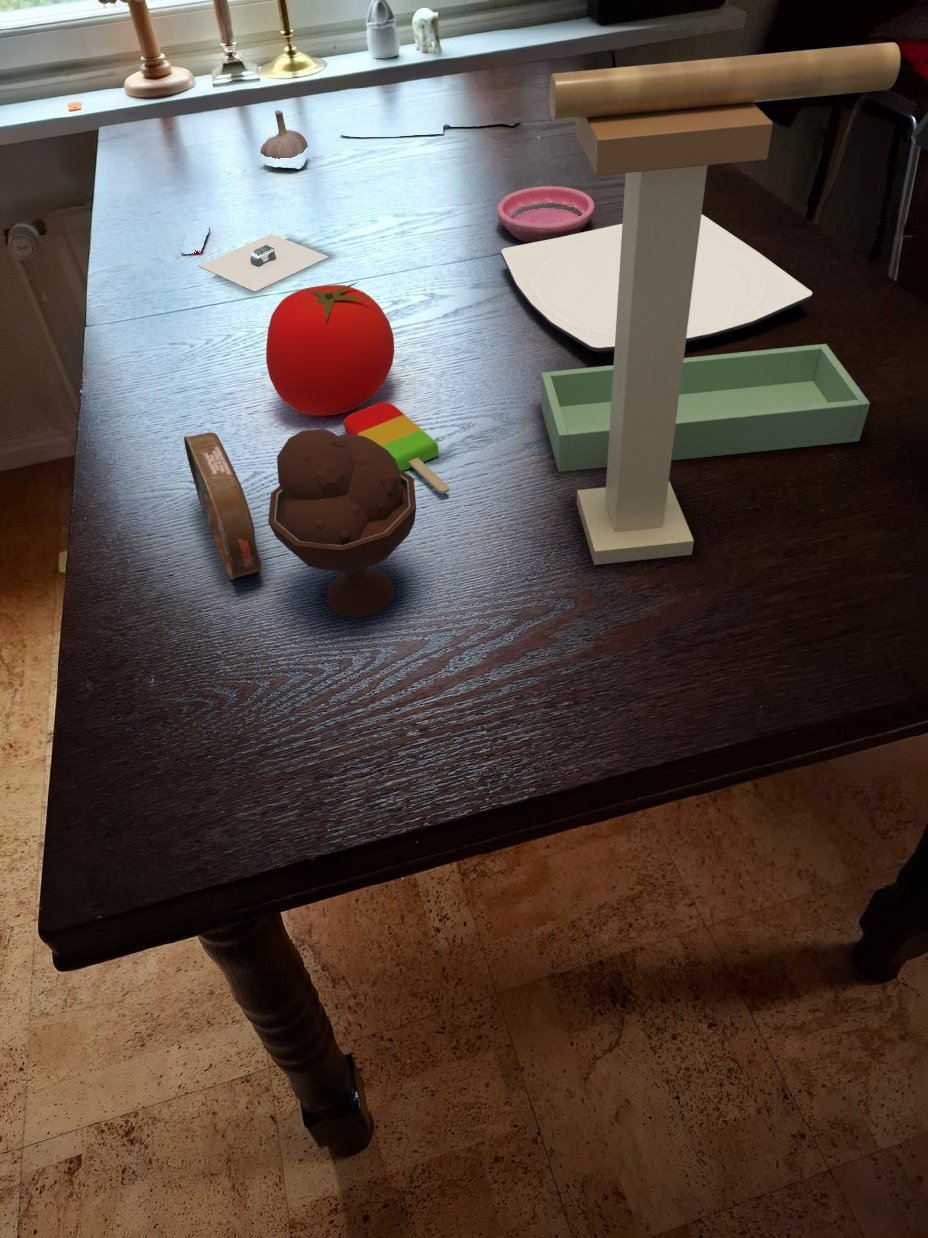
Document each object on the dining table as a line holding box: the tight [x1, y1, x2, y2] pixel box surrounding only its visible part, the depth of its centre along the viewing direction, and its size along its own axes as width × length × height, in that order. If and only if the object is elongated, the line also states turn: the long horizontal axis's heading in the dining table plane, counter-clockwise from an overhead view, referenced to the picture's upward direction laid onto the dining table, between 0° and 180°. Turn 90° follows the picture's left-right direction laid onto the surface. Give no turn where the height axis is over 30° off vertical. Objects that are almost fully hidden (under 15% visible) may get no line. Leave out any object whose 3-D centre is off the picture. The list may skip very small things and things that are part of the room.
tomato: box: [265, 281, 395, 417], centre depth 90 cm, size 12×14×11 cm
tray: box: [540, 343, 871, 473], centre depth 85 cm, size 28×11×4 cm, turn 95°
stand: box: [575, 102, 774, 566], centre depth 65 cm, size 10×8×32 cm
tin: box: [183, 432, 262, 580], centre depth 76 cm, size 15×3×8 cm, turn 24°
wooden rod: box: [548, 42, 901, 122], centre depth 54 cm, size 20×2×2 cm, turn 95°
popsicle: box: [343, 401, 450, 494], centre depth 85 cm, size 6×15×2 cm, turn 33°
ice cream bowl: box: [267, 428, 417, 619], centre depth 68 cm, size 11×11×15 cm
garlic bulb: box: [260, 109, 309, 159], centre depth 138 cm, size 8×7×8 cm
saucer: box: [496, 185, 595, 243], centre depth 119 cm, size 12×12×3 cm
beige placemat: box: [198, 233, 330, 292], centre depth 117 cm, size 12×12×2 cm
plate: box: [500, 213, 813, 354], centre depth 105 cm, size 29×29×3 cm
